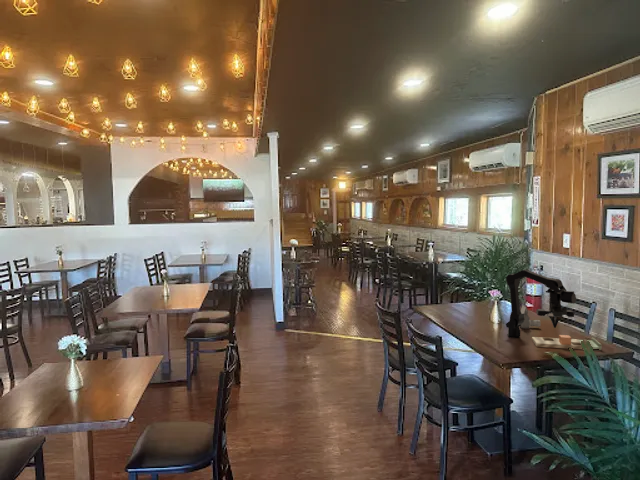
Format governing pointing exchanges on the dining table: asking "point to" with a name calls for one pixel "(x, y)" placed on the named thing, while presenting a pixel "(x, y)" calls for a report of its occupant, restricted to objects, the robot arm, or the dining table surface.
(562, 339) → the orange block
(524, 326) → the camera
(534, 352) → the dining table surface
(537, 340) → the trap board
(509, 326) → the robot arm
